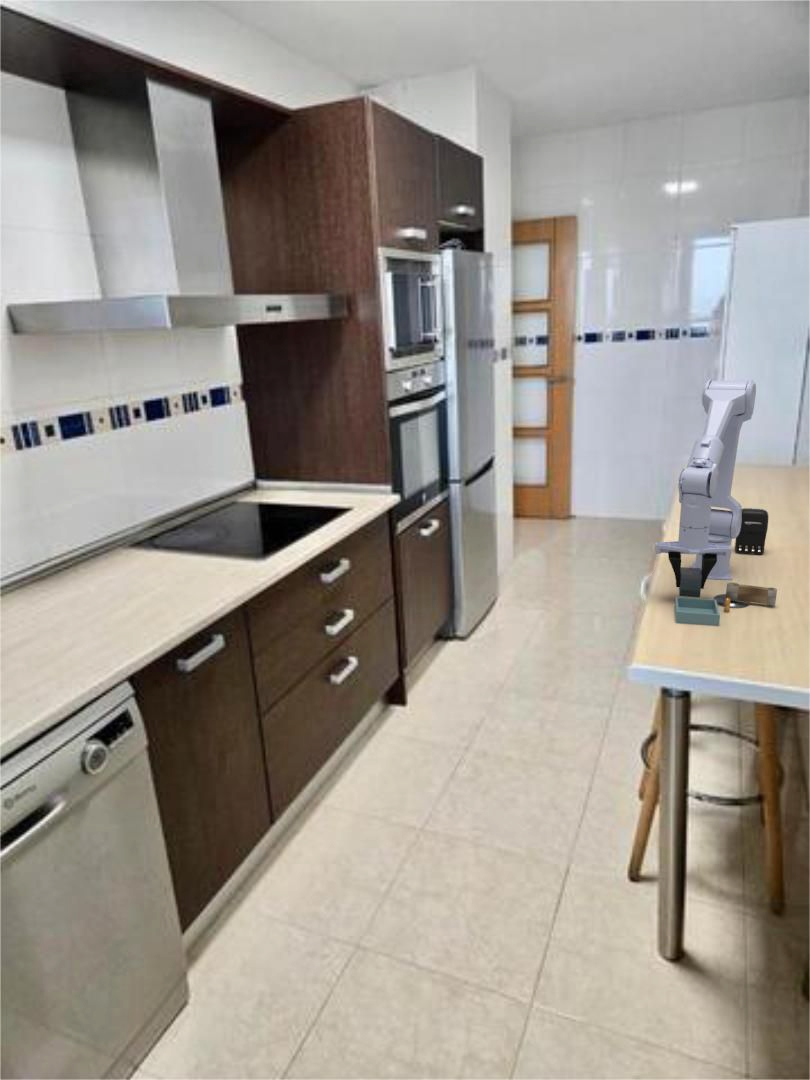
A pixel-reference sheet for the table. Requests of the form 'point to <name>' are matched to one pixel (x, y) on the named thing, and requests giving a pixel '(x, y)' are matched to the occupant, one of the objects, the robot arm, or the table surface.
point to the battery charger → (752, 532)
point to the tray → (696, 611)
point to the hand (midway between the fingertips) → (689, 586)
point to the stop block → (690, 582)
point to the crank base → (729, 603)
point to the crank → (751, 593)
